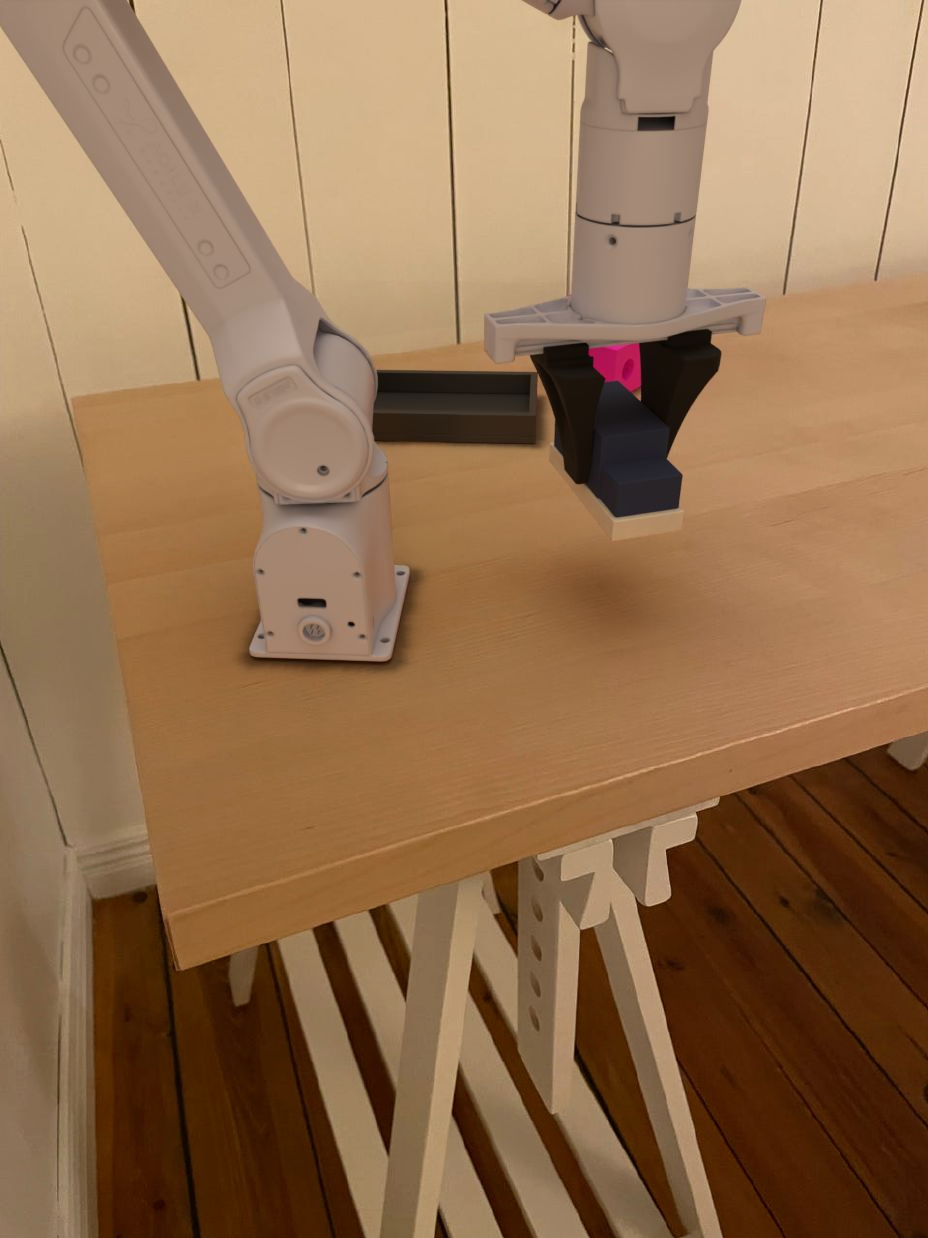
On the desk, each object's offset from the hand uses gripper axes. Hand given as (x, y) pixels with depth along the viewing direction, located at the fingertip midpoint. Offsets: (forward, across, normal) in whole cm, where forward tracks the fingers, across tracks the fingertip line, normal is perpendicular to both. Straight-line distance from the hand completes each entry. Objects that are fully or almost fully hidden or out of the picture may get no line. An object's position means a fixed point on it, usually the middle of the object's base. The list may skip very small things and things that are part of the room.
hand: (613, 470), depth 54 cm
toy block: (+9, -16, -34) cm, 39 cm away
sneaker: (+1, 0, 0) cm, 1 cm away
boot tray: (+8, +3, -28) cm, 30 cm away
